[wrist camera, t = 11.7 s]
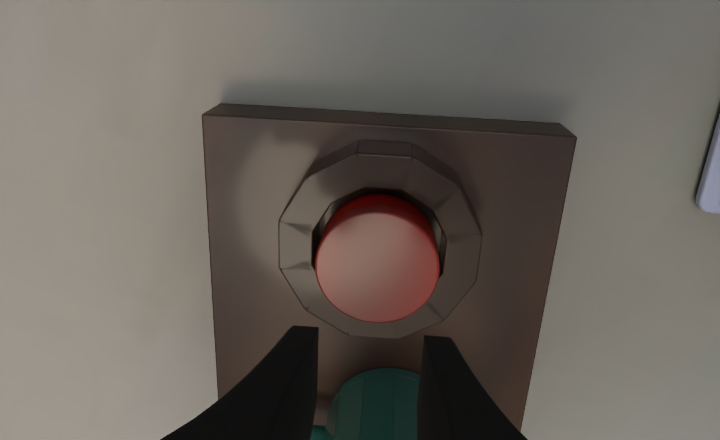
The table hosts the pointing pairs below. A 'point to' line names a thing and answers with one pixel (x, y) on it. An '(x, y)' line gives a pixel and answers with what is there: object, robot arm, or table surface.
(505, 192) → the stand
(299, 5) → the table surface
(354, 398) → the coffee mug
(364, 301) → the button
